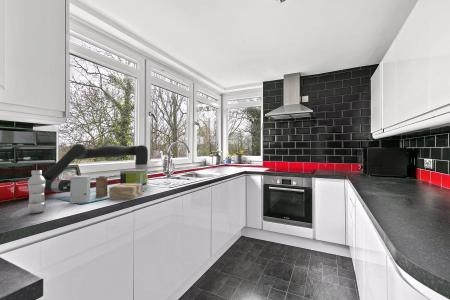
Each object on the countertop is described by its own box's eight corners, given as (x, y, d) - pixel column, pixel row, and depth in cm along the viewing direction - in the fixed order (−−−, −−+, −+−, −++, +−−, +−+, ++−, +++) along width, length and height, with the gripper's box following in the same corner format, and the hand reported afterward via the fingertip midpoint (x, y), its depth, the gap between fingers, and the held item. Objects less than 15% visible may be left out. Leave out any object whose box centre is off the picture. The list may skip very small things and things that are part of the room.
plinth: (121, 194, 135) (121, 183, 135) (142, 194, 135) (142, 183, 135) (109, 199, 121) (109, 187, 121) (132, 199, 121) (132, 187, 121)
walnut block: (100, 195, 131) (100, 175, 131) (107, 195, 131) (107, 175, 131) (95, 197, 126) (95, 176, 126) (103, 197, 126) (102, 176, 126)
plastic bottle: (44, 209, 100) (44, 169, 100) (47, 212, 96) (47, 170, 96) (26, 213, 95) (26, 170, 95) (28, 216, 91) (28, 171, 91)
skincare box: (69, 203, 112) (69, 176, 112) (74, 201, 117) (73, 175, 117) (87, 202, 114) (87, 176, 114) (90, 200, 120) (90, 174, 120)
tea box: (146, 189, 153) (146, 169, 153) (140, 191, 143) (139, 170, 143) (127, 188, 154) (127, 169, 154) (119, 191, 144) (119, 170, 144)
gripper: (52, 181, 122) (79, 181, 122) (71, 178, 136) (95, 178, 136) (53, 194, 122) (79, 194, 122) (71, 189, 136) (95, 189, 136)
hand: (87, 185), depth 129 cm, fingers open, 8 cm apart
